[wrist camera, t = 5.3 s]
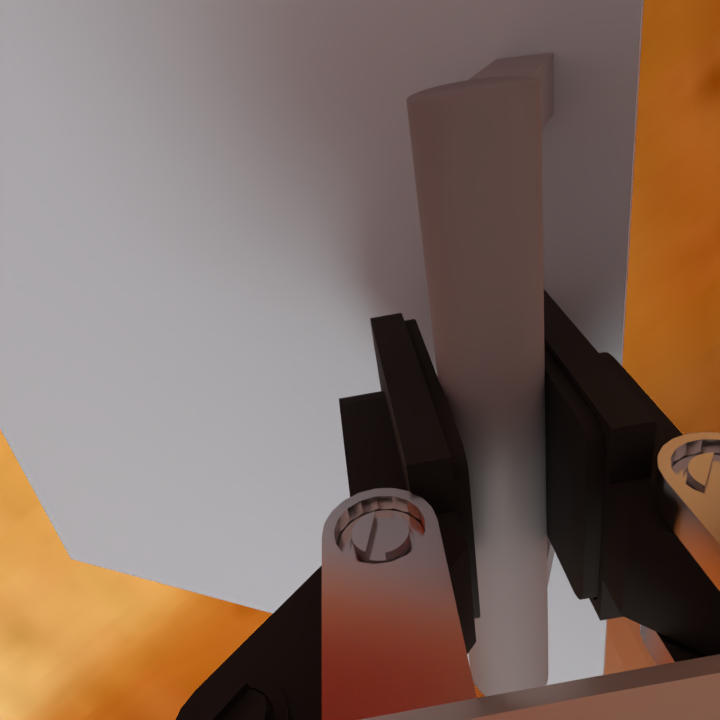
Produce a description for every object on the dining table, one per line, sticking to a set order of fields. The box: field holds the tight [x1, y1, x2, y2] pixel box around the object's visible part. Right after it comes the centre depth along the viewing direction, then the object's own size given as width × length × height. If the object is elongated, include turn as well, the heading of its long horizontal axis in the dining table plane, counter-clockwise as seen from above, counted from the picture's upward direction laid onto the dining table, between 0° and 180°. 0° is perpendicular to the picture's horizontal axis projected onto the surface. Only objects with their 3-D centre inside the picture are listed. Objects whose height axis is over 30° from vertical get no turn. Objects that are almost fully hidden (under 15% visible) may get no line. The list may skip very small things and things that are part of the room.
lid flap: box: [0, 0, 644, 696], centre depth 13 cm, size 20×18×4 cm
